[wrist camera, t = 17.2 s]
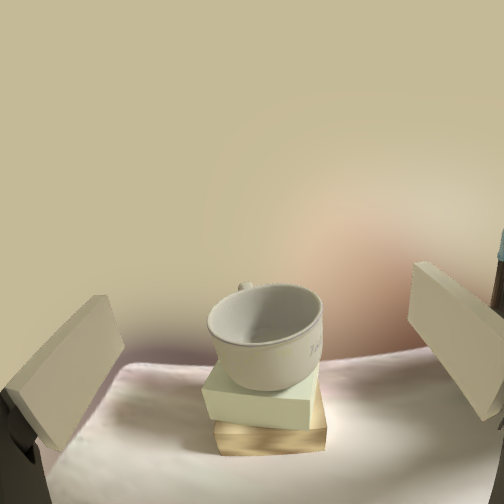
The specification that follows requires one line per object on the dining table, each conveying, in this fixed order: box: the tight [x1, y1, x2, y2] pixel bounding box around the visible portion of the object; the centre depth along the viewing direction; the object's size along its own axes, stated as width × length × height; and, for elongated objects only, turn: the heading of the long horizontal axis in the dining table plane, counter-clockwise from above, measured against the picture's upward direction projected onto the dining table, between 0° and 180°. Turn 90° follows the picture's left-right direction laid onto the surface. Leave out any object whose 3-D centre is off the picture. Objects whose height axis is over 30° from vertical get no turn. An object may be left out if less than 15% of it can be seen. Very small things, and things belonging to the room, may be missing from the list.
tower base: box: [213, 379, 327, 456], centre depth 33 cm, size 12×12×5 cm
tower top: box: [201, 359, 319, 431], centre depth 32 cm, size 11×11×5 cm
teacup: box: [207, 282, 323, 391], centre depth 30 cm, size 14×11×8 cm
